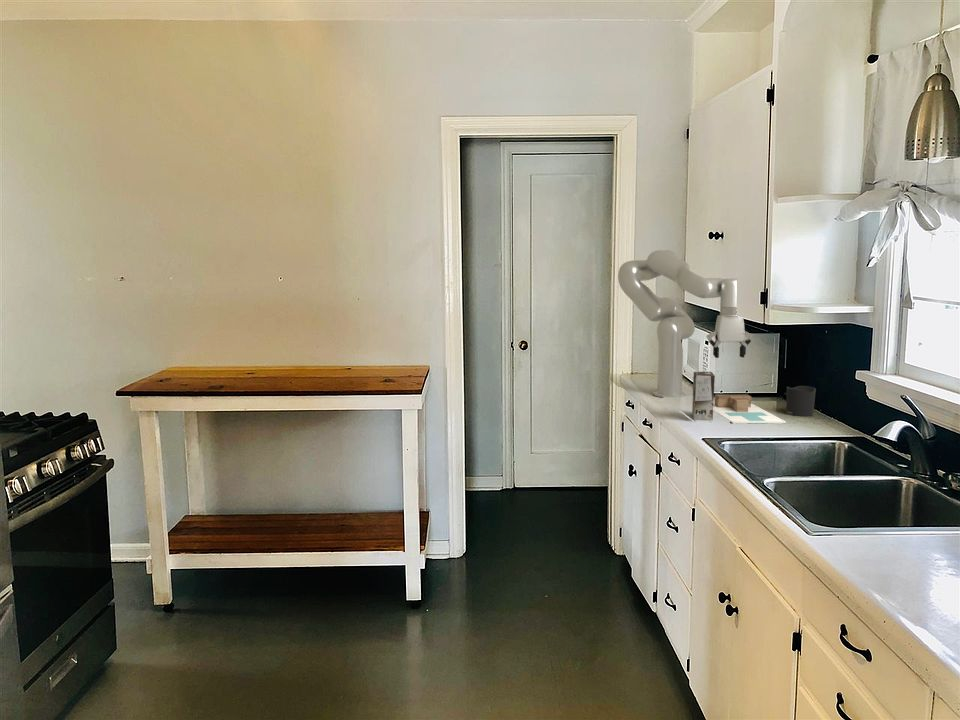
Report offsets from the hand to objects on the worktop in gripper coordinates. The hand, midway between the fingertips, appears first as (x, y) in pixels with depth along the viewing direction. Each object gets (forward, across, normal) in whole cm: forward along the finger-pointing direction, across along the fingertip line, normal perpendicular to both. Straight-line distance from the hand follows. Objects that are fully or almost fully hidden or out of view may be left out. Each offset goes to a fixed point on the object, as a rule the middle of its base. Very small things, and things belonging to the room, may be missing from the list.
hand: (729, 357), depth 279 cm
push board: (+18, 0, +15) cm, 24 cm away
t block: (+18, 0, +11) cm, 20 cm away
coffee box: (+18, +17, +25) cm, 35 cm away
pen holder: (+19, -18, +20) cm, 33 cm away
